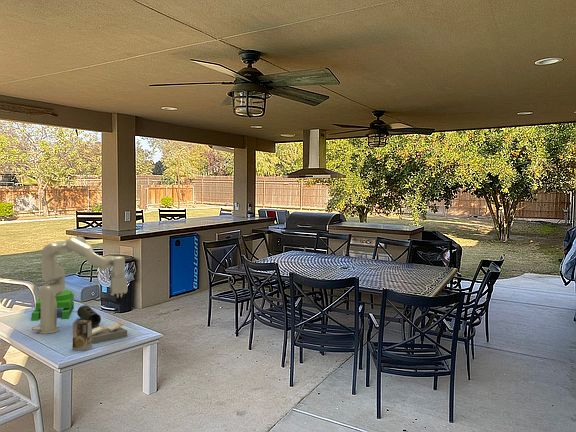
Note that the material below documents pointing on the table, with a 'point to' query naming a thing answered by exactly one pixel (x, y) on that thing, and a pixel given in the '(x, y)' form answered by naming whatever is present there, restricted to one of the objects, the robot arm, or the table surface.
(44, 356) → the table surface
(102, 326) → the block
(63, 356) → the table surface
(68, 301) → the tank
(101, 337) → the switch block
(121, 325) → the far rocker
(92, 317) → the muzzle brake
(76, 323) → the coffee box
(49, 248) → the robot arm
